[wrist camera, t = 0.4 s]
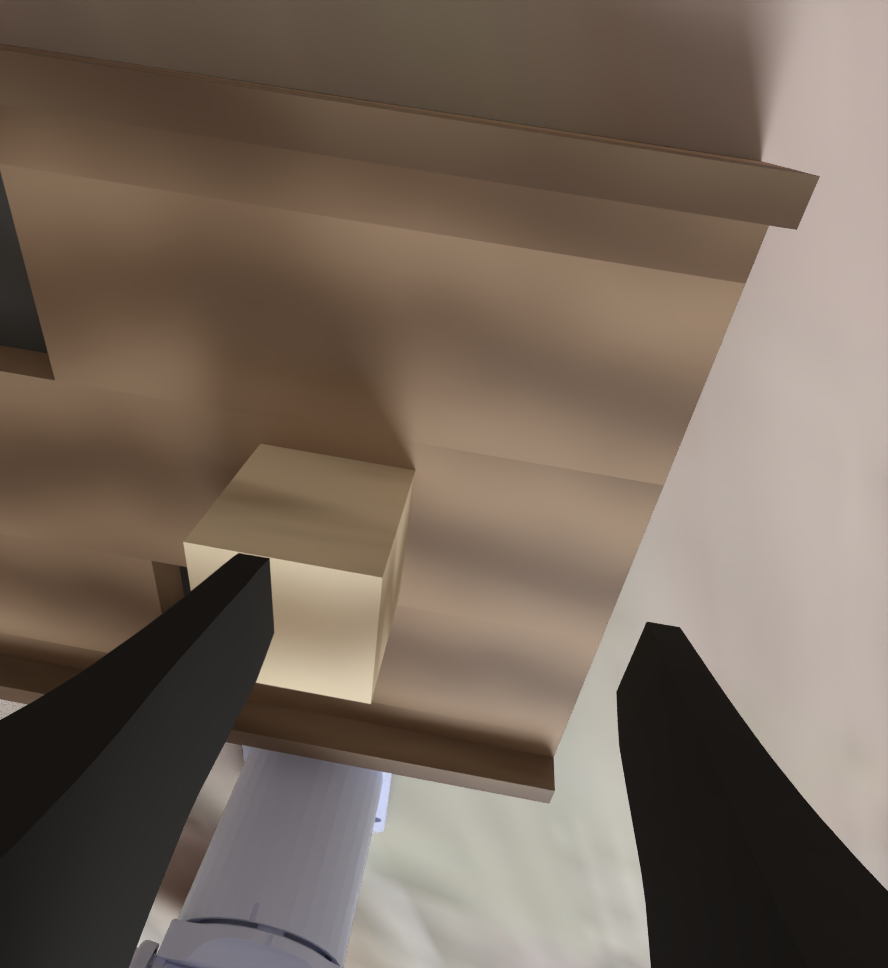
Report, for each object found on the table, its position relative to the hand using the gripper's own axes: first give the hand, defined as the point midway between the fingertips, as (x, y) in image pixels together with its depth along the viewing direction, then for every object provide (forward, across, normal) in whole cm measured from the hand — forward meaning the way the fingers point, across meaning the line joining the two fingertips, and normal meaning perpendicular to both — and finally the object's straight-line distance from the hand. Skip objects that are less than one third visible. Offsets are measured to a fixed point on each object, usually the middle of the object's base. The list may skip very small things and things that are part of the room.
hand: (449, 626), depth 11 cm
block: (+8, +4, +4) cm, 10 cm away
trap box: (+10, +10, +4) cm, 15 cm away
